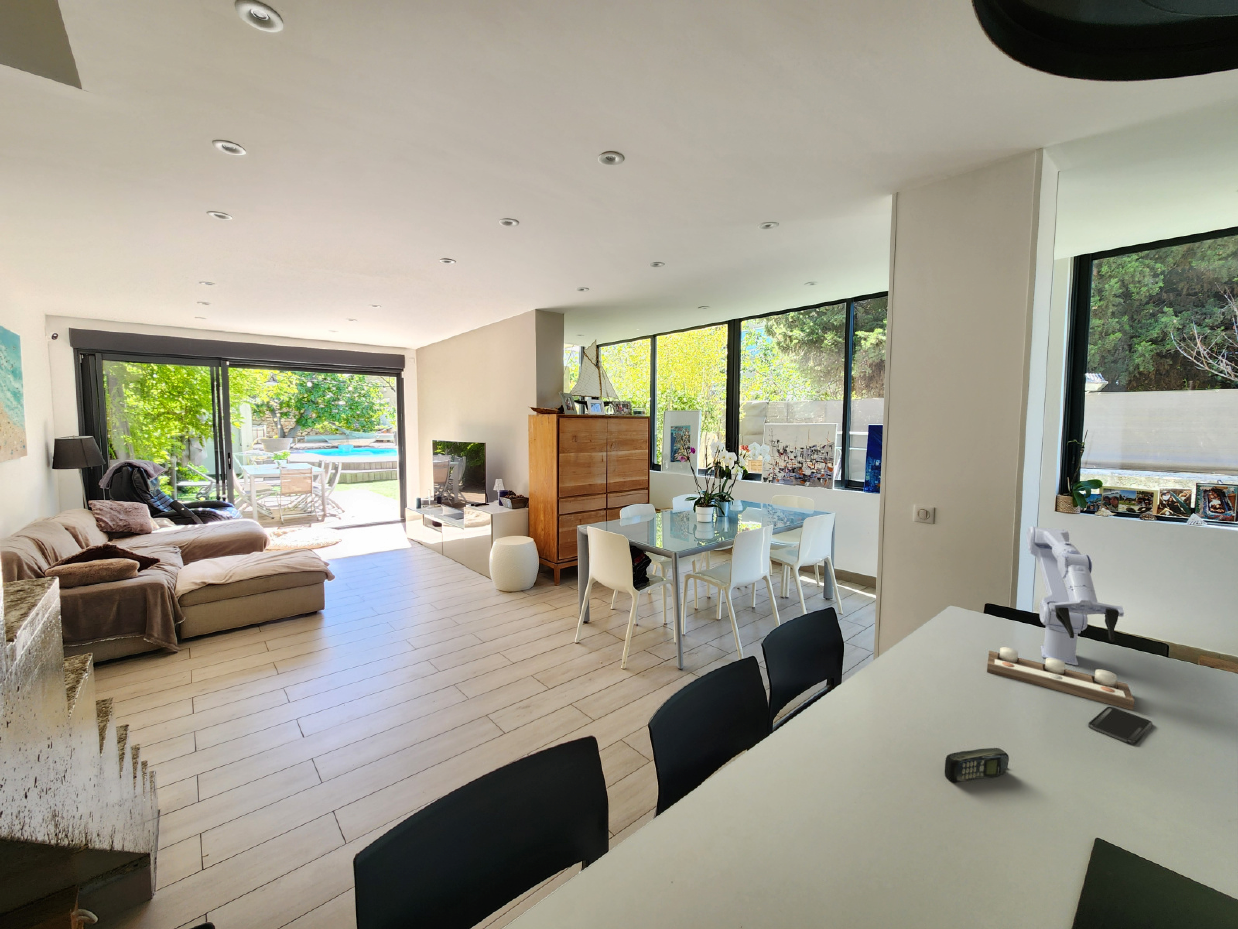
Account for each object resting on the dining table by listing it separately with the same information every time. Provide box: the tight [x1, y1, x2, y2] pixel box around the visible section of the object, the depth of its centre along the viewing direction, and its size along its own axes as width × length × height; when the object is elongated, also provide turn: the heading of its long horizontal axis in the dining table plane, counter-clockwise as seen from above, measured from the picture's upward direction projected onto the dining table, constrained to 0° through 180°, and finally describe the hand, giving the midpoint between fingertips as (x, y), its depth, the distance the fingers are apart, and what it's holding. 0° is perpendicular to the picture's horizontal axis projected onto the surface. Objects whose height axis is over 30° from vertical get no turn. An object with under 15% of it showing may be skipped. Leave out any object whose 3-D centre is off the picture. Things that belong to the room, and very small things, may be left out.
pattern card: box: [994, 659, 1125, 698], centre depth 134 cm, size 4×26×1 cm, turn 52°
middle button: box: [1044, 658, 1066, 674], centre depth 137 cm, size 4×4×2 cm
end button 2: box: [999, 646, 1019, 662], centre depth 143 cm, size 4×4×2 cm
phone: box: [1087, 706, 1153, 746], centre depth 117 cm, size 8×1×15 cm
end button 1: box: [1094, 669, 1117, 687], centre depth 131 cm, size 4×4×2 cm
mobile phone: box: [944, 747, 1010, 783], centre depth 100 cm, size 5×3×15 cm
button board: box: [986, 650, 1135, 711], centre depth 136 cm, size 10×29×2 cm, turn 52°
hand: (1092, 638), depth 130 cm, fingers open, 7 cm apart
